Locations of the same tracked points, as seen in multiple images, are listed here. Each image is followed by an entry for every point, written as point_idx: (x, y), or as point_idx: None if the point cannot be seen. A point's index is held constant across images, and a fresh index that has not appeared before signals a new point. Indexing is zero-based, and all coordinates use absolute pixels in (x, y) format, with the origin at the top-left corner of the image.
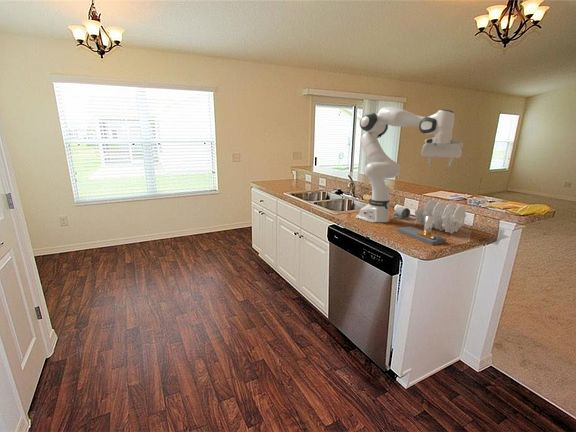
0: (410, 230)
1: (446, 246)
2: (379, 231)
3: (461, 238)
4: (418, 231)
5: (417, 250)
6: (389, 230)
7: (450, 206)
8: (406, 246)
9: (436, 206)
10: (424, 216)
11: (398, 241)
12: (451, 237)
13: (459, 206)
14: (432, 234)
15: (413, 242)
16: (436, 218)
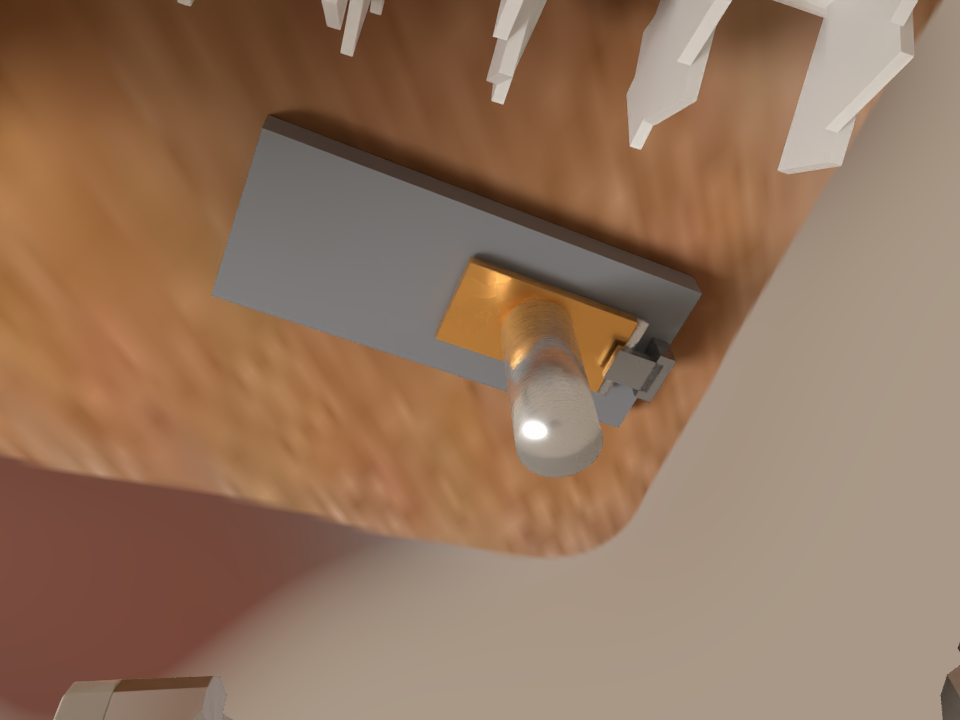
0: (344, 273)
1: (714, 358)
2: (105, 386)
3: (816, 35)
4: (420, 249)
5: (557, 552)
6: (145, 297)
7: None
8: (468, 537)
9: (514, 17)
10: (362, 25)
11: (375, 492)
12: (719, 77)
13: (903, 64)
14: (581, 313)
15: (473, 440)
16: (534, 22)
